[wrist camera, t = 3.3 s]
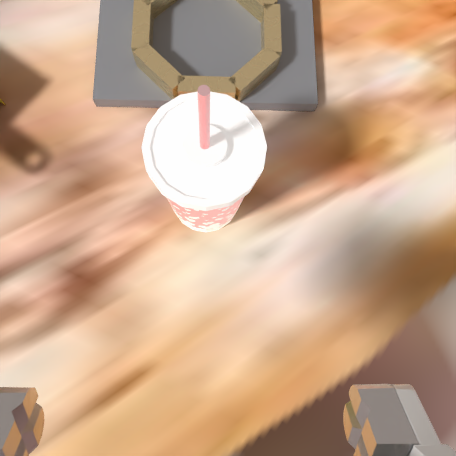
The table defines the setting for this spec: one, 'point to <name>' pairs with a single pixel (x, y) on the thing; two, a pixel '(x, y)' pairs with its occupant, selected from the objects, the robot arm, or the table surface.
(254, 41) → the board
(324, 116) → the table surface
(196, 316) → the table surface
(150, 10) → the socket
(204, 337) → the table surface
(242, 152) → the beverage cup
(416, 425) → the robot arm
